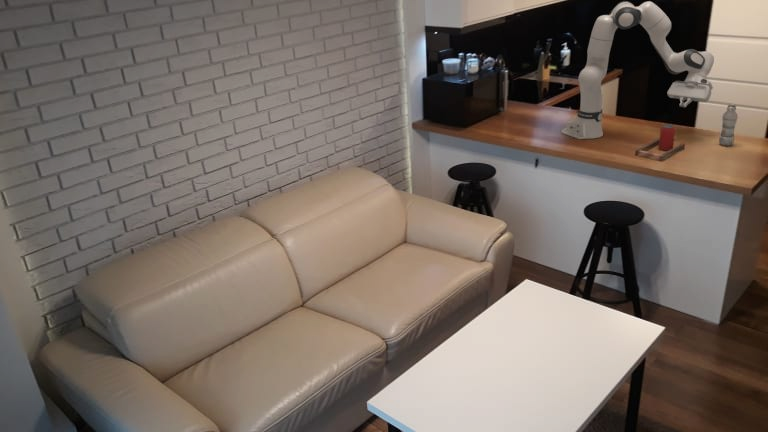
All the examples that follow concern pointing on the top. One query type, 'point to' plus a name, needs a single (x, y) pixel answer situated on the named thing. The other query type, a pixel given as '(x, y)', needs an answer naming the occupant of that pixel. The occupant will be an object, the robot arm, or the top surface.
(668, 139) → the beer can
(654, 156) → the walnut channel
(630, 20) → the robot arm
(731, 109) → the plastic bottle
